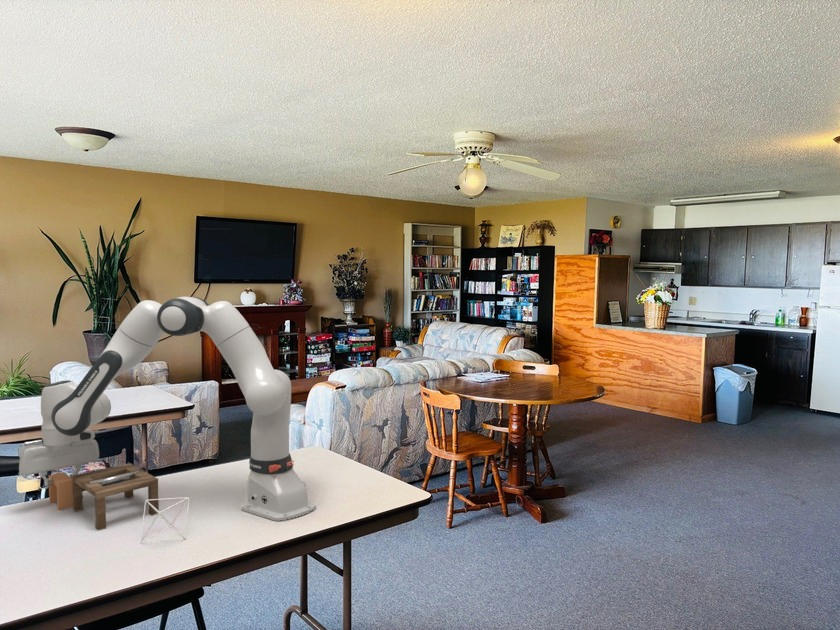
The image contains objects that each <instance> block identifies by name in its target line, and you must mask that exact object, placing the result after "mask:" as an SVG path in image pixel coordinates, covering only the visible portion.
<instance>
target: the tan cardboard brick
mask: <svg viewBox="0 0 840 630" xmlns="http://www.w3.org/2000/svg"><path fill="white" fill-rule="evenodd" d="M48 478H50V479H52V482H51V483H52V485H50V486H48V496H49V500H48V501H49V503H52V504H53V503H56V504H57V510H58V511H61V510H65V509H69V508H73V483H72V478H71V477H70V475H69V474H66V473H65V472H64V471H63V472H60V473H59V472H58V473H53V474H50V475H48Z"/></svg>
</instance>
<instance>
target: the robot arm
mask: <svg viewBox="0 0 840 630" xmlns="http://www.w3.org/2000/svg"><path fill="white" fill-rule="evenodd" d="M199 332H203V333H206V335H208V336H209V338H210V339H211V341H212V343H214V345H215V346H216V348H217V349H218V351H219V352H220V354H221V356H222V357H223V359H224V360H225V362H226V363H227V365H228V366H229V368H230V369H231V371H232V374H233V376H234V378H235V380H236V383H237V384H238V386H239V390H241V392H242V394H243V396H244V398H245V402H246V405H247V407H248V409H249V410H250V411H251V412H252V421H251V428H250V455H249V462H248V465H249V470H250V473H249V475H248V476H247V477H248V478H247V479H246V483H245V496H244V503H243V504H242V505H241V511H243V512H246V513H250V514H253V515H256V516H260V517H262V518H265V519H268V520H272V521H275V522H280V520H281V521H287V519H288V520H292V519H295V517H296V518H298V516H299V517H302V516H304V514H305V515H307V514H309V513H311V512H313V511H314V510H315V509H316V508H317V505H316V503H315V502H313V501H312V500H310V499H309V498H308V491H307V483H306V482H305V481H304V480H301V478H300V476H298V474H297V472H296V471H295V469H294V465H295V463H294V462H295V460H293V458H292V456H291V454H290V423H291V422H290V421H291V409H292V407H291V406H292V404H291V403H292V382H291V379H290V377H289V376H288V374H286V373H285V372H284V371H282V370H280V369H274V367H273V366H272V363H271V361H270V358H269V357H268V355H267V352H266V349H265V347H264V346H263V344H262V342H261V341H260V339H259V338H258V336H257V335H256V333H255V331H254V330H253V328H252V327H251V326H250V324H249V323H248V321H247V320H246V319H245V317H244V316H243V315H242V314H241V313H240V311H239V310H238V309H237V308H236V307H235V306H234V305H233V304H232V303H231V302H229V301H226V300H220V301H215V302H213V303H211V304H208V302H207V301H206V300H204V299H203V298H200V297H198V296H179V297H175V298H171V299H168V300H167V301H164V303H163V304H161V303H159V302H157V301H155V300H151V299H149V300H148V299H146V300H142V301H139V302H138V303H137V305H136V306H134V308H132V310H131V311H130V312H129V313H128V314H127V315H126V316H125V318H124V319H123V321H122V322H121V323H120V324H119V327H118V328H117V329H116V331H115V333H114V334H113V336H112V337H111V339H110V340H109V342H108V344H107V345H106V347H105V348H104V350H103V351H102V352H101V354H100V355H99V357H98V359H97V360H96V361H95V362H94V364H93V365H92V366H91V367H90V368H89V370H88V372H87V373H86V374H85V375H84V376H83V378H82V380H81V381H80V382H79V384H76V383H75V382H74V381H72V380H67V379H66V380H60V381H57V382H52V383H49V384H47V385H45V386H44V387H43V389H42V392H41V397H40V414H41V418H42V423H41V424H42V425H41V439H35V440H32V441H31V440H30V441H25V442H24V443H22V444H20V446H19V447H18V448H17V452H18V453H17V455H18V457H19V462H18V463H19V464H18V472H19V473H20V474H21V475H22V476H30V475H31V476H32V475H35V474H39V475H40V476H41V478H42V479H43V481H44V483H43V484H44V487H49V486H50V485H52V483H51V482H52V479H50V478H49V477H48V478H47V475H48V472H51V471H55V470H59V469H65V468H70V467H74V470H73V472H72V473H70V474H69V477H71V478H72V475H77V474H80V471H81V469H82V465H85V464H89V463H90V464H91V463H93V462H98V459H99V458H100V449H99V448H100V447H99V444H98V442H97V440H96V439H95V437H96V434H95V432H94V431H93V430H91V429H90V428H91V427H93V426H96V425H97V424H99V423H101V422H103V421H104V420H105V419H107V418H108V417H109V415H110V414H111V410H112V405H111V401H110V399H109V398H108V396H107V395H106V394H104V392H105V391H106V389H107V388H108V387H109V385H110V384H111V383H112V382H113V381H114V380H115V379H116V378H118V376H120V375H121V374H124V373H125V372H126V371H128V370H130V369H132V368H134V367H136V366H138V365H140V364H141V363H142V362H143V361H144V360H145V359H146V358H147V357H148V356H149V355H150V354H151V353H152V351H153V350H154V348H155V347H156V345H157V344H158V342H159V341H160V339H161V338H162V336H163V335H164V334H166V335H167V334H168V335H170V336H174V337H181V336H182V337H183V336H187V335H188V336H189V335H193V334H196V333H199ZM312 510H313V511H312ZM310 511H311V512H310ZM306 513H307V514H306ZM301 515H302V516H301ZM291 518H292V519H291Z"/></svg>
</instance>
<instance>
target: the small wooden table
mask: <svg viewBox="0 0 840 630" xmlns="http://www.w3.org/2000/svg"><path fill="white" fill-rule="evenodd" d="M135 471H139V473H134V478H129V479H125V480H123V481H120V482H118V483H110V484H106V485H100V484H99V483H97V482H95V483H90V482H91V481H95V480H99V479H104V478H108V477H113V476H117V475H122V474H126V473H131V472H135ZM72 483H73V507H72V509H73V511H74V512H80V511H82V510H84V495H83V493H84V491H85V492H87V493H89V494H90V495H91V496H92V497H93V498H94V525H95V526H94V527H95V529H96V530H97V531H101V530H104V529H107V513H106V512H107V511H106V510H107V507H106V504H107V503H106V498H107V497H111V496H115V495H119V494H123V497H124V498H126V499H131V498H133V497H134V492H135V490H136V491H137V490H140V489H143V488H147V493H148V494H147V495H148V496H147V498H148V499H147V500H148V502H149V503H150V504H151V505H153V506H154V507H155V508H156V509H157V510H158V511H159V510H160V508H159V507H160V504H159V503H160V502H159V501H160V500H149V499H159V478H157V477H156V476H153V475H152V474H150V473H149V472H146V471H145V470H143V469H142V468H139V467H138V466H136V465H135V464H133V463H131V462H129V463H125V464H119V465H115V466H112V467H106V468H102V469H96V470H91V471H88V472H82V473H78V474H77V475H72ZM83 490H84V491H83ZM148 502H147V503H148ZM155 508H154V509H155ZM154 509H153V508H152V507H151V506H150V505H149V504H148V514H149V515H150V516H155V515H158V513H159V512H160V511H159V512H158V511H157V510H156V509H155V510H156V511H157V512H158V513H157V512H156V511H155V510H154Z"/></svg>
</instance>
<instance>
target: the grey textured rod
mask: <svg viewBox="0 0 840 630" xmlns="http://www.w3.org/2000/svg"><path fill="white" fill-rule="evenodd" d="M134 473H139V471H135V472H131V473H126V474H122V475H117V476H113V477H108V478H104V479H99V480H95V481H91V482H90V483H95V482H97V483H99V484H100V485H102V486H104V485H109V484H113V483H115V482H119V481H120V482H122V481H124V480H125V479H129V478H133V479H134Z"/></svg>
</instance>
